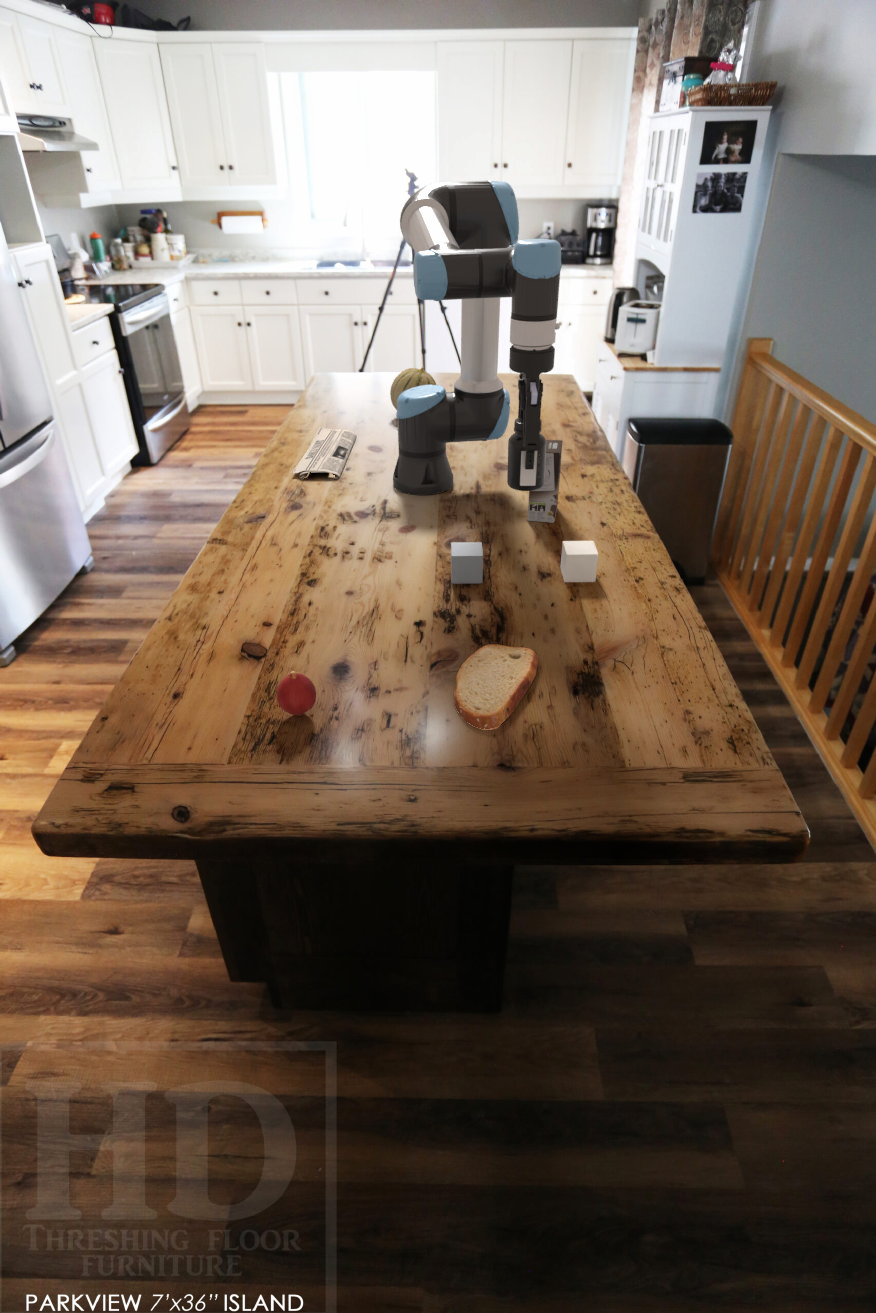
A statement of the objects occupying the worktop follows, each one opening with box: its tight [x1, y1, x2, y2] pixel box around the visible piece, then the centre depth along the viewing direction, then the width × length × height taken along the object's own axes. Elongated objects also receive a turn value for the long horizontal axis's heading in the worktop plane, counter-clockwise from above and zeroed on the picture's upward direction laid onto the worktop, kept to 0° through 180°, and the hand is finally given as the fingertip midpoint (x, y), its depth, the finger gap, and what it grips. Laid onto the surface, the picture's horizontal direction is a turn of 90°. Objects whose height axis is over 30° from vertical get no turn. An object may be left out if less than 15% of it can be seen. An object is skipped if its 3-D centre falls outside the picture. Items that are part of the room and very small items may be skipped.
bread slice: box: [453, 643, 539, 729], centre depth 119 cm, size 18×18×4 cm
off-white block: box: [560, 540, 599, 583], centre depth 148 cm, size 6×6×6 cm
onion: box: [276, 670, 317, 717], centre depth 112 cm, size 6×6×8 cm
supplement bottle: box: [506, 417, 547, 492], centre depth 137 cm, size 7×7×12 cm
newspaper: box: [292, 425, 357, 480], centre depth 209 cm, size 35×12×4 cm, turn 178°
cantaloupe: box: [389, 366, 438, 411], centre depth 235 cm, size 15×15×15 cm
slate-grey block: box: [450, 541, 484, 585], centre depth 149 cm, size 6×6×6 cm
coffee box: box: [527, 439, 563, 524], centre depth 170 cm, size 9×6×16 cm
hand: (525, 477), depth 140 cm, fingers closed on supplement bottle, 7 cm apart
